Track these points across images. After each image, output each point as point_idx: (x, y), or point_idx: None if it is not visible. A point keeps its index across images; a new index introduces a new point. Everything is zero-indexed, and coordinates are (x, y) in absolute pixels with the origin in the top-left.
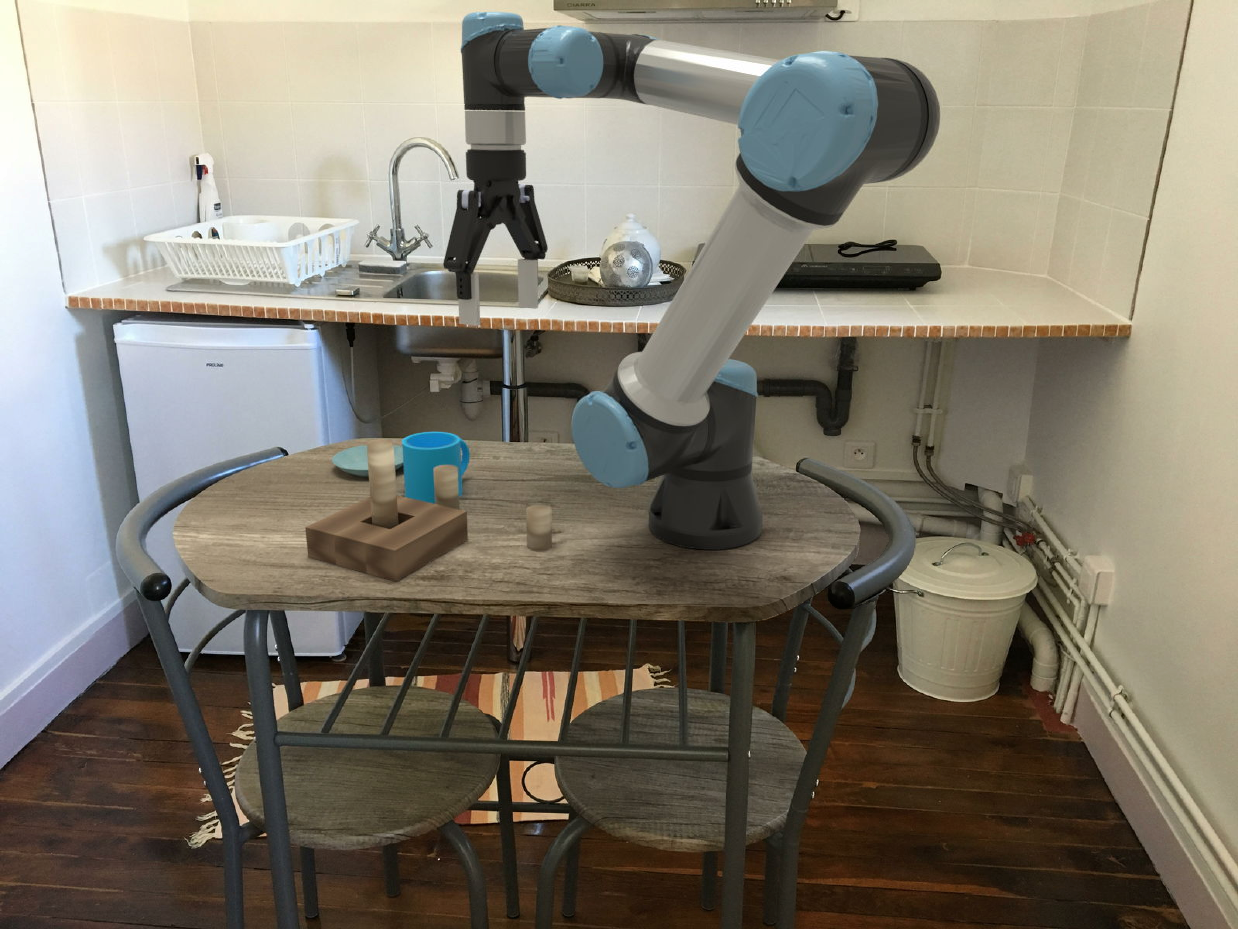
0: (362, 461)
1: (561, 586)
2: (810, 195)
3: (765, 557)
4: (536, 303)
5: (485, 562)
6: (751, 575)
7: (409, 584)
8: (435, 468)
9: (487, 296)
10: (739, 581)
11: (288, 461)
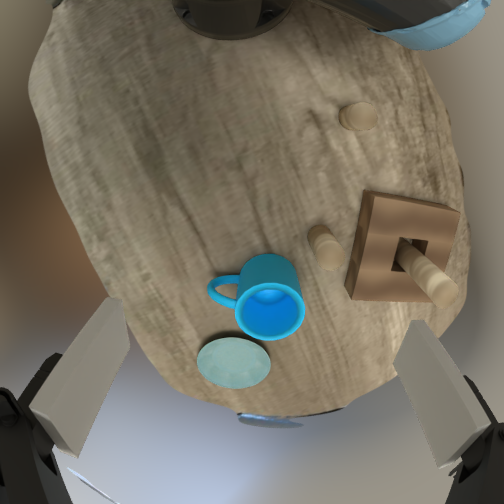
0: (225, 370)
1: (412, 74)
2: None
3: None
4: (108, 306)
5: (399, 152)
6: None
7: (446, 193)
8: (334, 267)
9: None
10: None
11: (251, 407)
